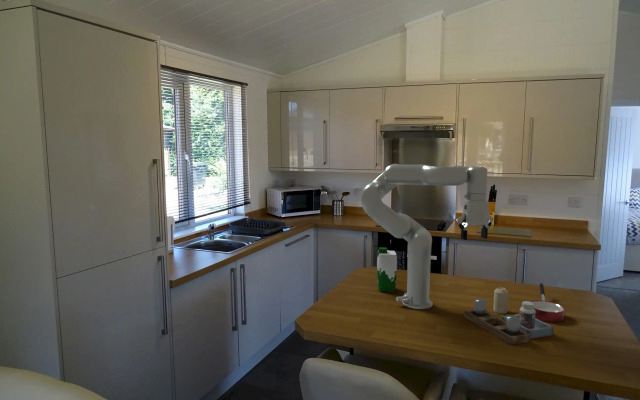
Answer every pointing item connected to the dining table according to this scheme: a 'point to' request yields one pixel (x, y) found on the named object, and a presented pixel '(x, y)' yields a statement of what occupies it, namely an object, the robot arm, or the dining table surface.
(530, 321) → the pill bottle
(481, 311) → the peg
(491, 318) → the socket rack
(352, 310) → the dining table surface
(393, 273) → the milk carton
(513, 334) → the peg
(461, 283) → the dining table surface
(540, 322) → the tray
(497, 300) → the candle
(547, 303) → the frying pan
